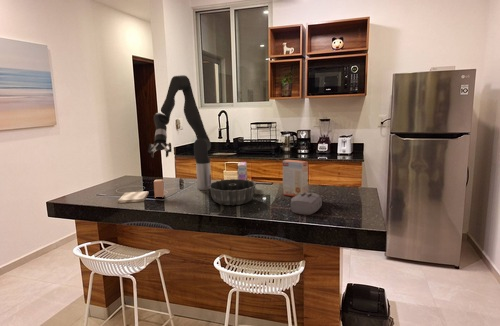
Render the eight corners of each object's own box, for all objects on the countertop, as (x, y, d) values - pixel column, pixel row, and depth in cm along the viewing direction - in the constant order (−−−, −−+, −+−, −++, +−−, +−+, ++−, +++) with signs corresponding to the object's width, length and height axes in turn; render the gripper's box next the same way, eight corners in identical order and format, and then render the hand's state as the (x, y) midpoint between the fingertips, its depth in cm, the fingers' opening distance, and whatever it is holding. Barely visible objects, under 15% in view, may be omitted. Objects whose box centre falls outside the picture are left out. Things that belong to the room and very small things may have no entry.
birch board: (148, 193, 201) (148, 191, 201) (143, 201, 183) (143, 198, 183) (125, 194, 199) (125, 192, 199) (118, 203, 181) (117, 200, 181)
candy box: (246, 190, 202) (246, 165, 199) (237, 190, 202) (236, 165, 200) (247, 185, 216) (246, 161, 213) (238, 185, 216) (238, 161, 213)
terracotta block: (164, 195, 196) (163, 179, 194) (163, 197, 191) (162, 181, 189) (156, 195, 195) (154, 179, 194) (154, 197, 190) (153, 181, 189)
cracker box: (308, 196, 185) (308, 161, 181) (302, 198, 181) (302, 162, 177) (288, 192, 194) (288, 159, 191) (282, 194, 190) (282, 160, 187)
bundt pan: (246, 210, 163) (246, 191, 161) (201, 206, 172) (200, 188, 170) (262, 196, 187) (262, 180, 186) (221, 193, 196) (221, 178, 195)
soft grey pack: (316, 216, 151) (326, 205, 168) (316, 199, 150) (326, 189, 167) (286, 212, 158) (299, 202, 175) (286, 196, 156) (299, 187, 174)
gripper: (148, 133, 206) (146, 153, 197) (171, 133, 208) (170, 152, 199) (150, 141, 212) (149, 160, 203) (172, 140, 214) (171, 159, 205)
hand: (159, 156), depth 201 cm, fingers open, 8 cm apart
